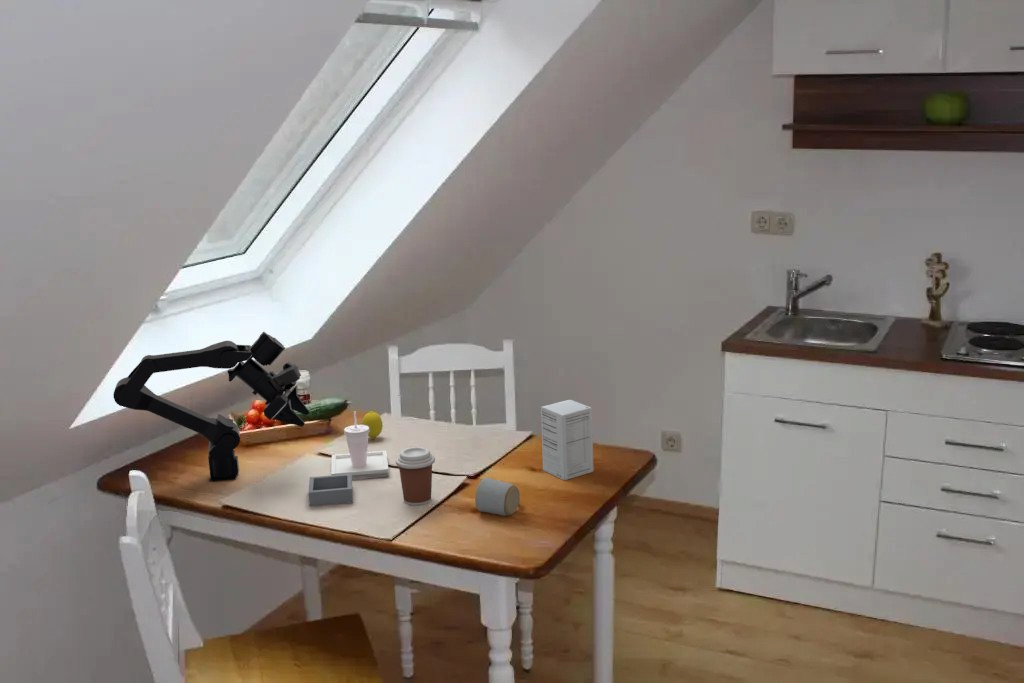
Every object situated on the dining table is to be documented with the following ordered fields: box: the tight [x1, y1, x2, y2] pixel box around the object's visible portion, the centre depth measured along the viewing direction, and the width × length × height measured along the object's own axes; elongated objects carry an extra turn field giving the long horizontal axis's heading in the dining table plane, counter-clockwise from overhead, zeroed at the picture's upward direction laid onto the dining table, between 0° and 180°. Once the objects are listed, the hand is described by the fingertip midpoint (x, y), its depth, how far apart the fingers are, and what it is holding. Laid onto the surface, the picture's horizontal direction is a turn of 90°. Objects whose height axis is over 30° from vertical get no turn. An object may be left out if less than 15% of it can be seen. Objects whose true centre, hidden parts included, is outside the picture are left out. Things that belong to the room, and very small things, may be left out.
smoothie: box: [343, 410, 370, 467], centre depth 266 cm, size 6×6×14 cm
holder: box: [307, 474, 354, 508], centre depth 250 cm, size 10×10×4 cm
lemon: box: [361, 410, 383, 440], centre depth 290 cm, size 6×6×8 cm
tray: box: [330, 449, 390, 481], centre depth 268 cm, size 14×14×2 cm
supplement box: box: [540, 399, 594, 481], centre depth 260 cm, size 10×9×17 cm
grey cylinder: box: [474, 477, 521, 517], centre depth 239 cm, size 11×8×8 cm
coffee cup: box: [395, 446, 436, 507], centre depth 246 cm, size 9×9×12 cm
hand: (306, 419), depth 266 cm, fingers open, 9 cm apart
